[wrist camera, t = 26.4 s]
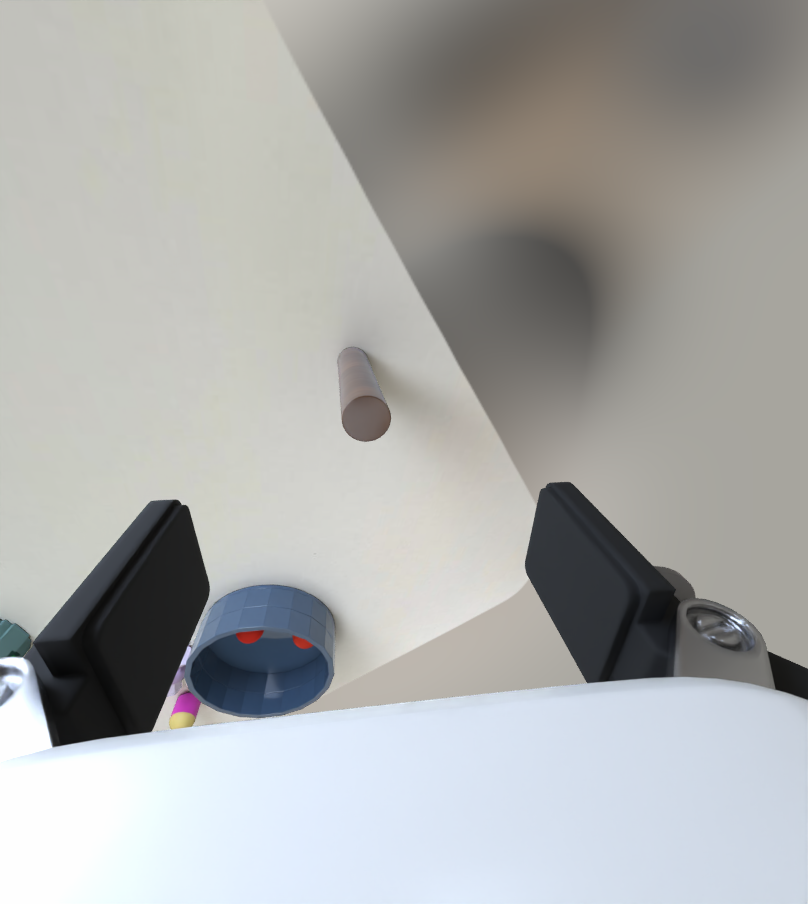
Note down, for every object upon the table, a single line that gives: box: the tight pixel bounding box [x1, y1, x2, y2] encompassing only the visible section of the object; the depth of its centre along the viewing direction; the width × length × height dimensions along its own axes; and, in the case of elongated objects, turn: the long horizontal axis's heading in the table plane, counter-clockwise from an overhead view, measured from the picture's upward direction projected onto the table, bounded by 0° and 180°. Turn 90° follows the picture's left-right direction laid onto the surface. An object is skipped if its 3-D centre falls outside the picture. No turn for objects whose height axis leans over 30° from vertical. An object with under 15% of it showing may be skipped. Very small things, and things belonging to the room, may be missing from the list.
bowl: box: [184, 585, 335, 718], centre depth 44 cm, size 15×15×6 cm
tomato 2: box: [292, 635, 313, 649], centre depth 44 cm, size 3×3×3 cm
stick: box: [338, 347, 391, 442], centre depth 27 cm, size 3×3×14 cm
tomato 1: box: [236, 630, 264, 644], centre depth 43 cm, size 3×3×3 cm
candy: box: [167, 646, 201, 729], centre depth 46 cm, size 18×8×6 cm, turn 154°
